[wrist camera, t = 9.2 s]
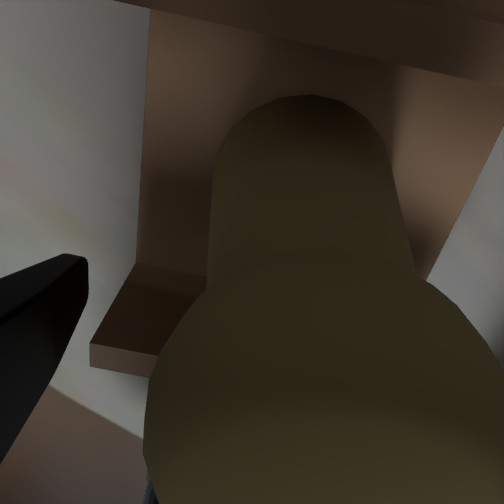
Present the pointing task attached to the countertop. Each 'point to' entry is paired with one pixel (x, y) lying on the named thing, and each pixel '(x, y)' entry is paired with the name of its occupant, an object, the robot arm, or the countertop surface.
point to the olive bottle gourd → (319, 338)
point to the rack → (293, 84)
